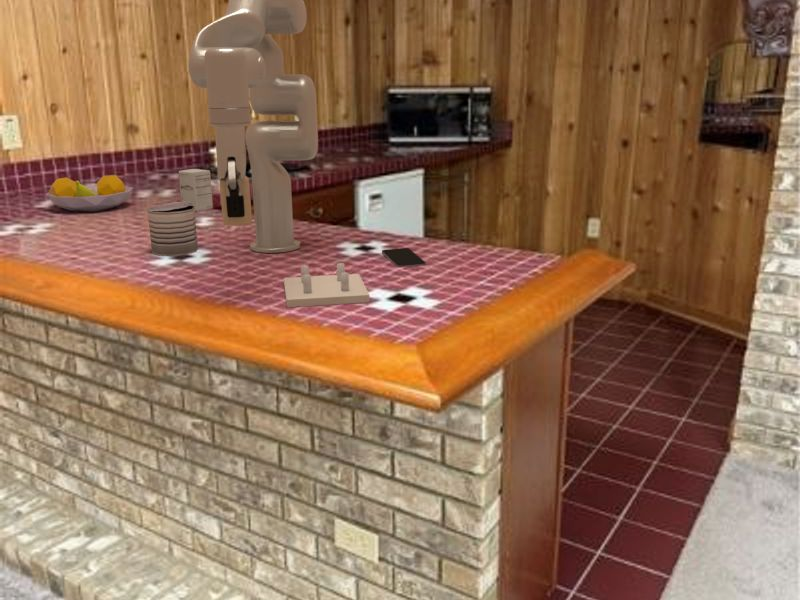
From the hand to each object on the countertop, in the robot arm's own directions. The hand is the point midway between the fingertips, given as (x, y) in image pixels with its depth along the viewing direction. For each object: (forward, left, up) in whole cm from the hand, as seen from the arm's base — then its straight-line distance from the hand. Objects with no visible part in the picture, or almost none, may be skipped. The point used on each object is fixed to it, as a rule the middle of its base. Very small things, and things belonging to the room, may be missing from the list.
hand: (237, 212), depth 144 cm
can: (-45, -18, -17) cm, 51 cm away
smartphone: (-25, +37, -18) cm, 48 cm away
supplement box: (-106, -17, -17) cm, 109 cm away
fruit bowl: (-114, -52, -17) cm, 126 cm away
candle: (0, 0, -2) cm, 2 cm away
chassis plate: (0, +16, -17) cm, 24 cm away
